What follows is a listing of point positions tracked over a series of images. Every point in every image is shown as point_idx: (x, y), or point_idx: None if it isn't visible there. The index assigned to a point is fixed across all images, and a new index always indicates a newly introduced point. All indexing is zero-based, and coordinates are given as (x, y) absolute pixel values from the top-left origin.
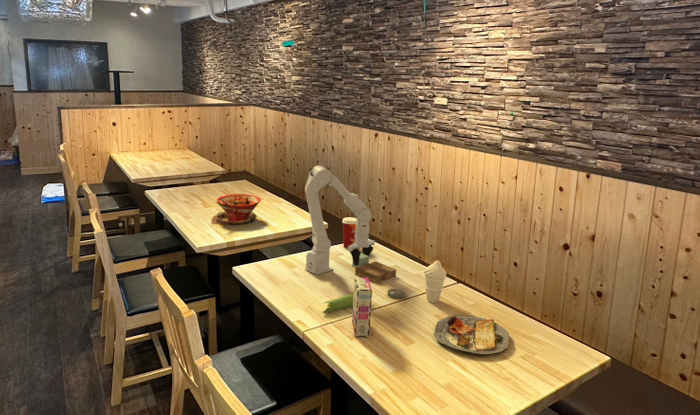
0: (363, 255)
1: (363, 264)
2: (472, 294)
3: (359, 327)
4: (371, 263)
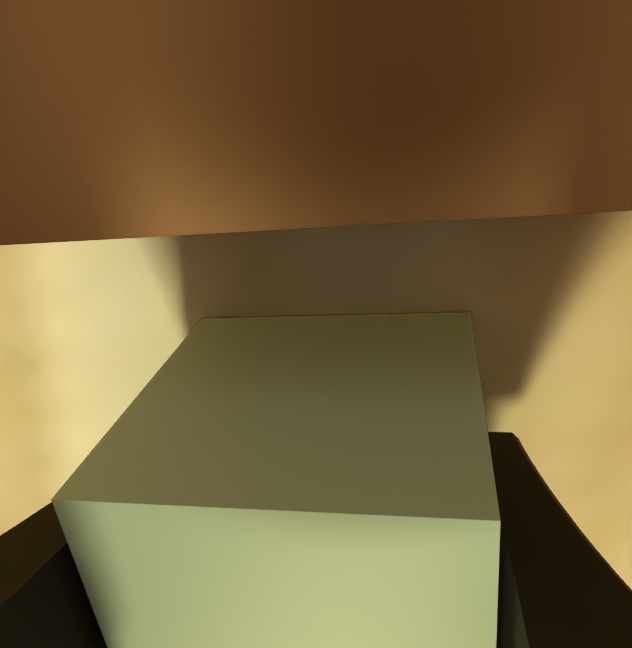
0: (195, 634)
1: (360, 366)
2: None
3: None
4: (198, 170)
